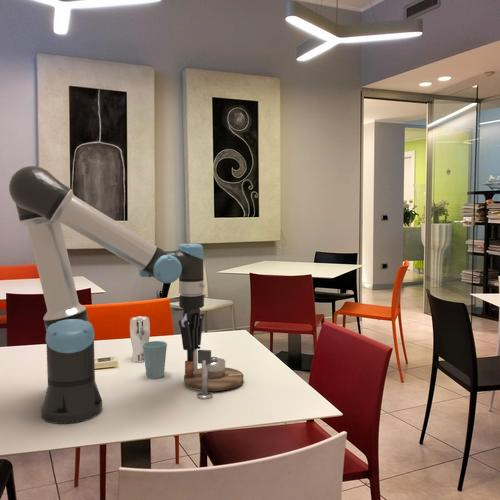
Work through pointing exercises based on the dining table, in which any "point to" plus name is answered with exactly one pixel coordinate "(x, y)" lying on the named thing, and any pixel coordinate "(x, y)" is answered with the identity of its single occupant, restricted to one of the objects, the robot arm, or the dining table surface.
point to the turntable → (227, 382)
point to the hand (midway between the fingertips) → (192, 370)
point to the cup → (155, 358)
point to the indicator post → (204, 373)
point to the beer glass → (139, 336)
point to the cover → (216, 368)
